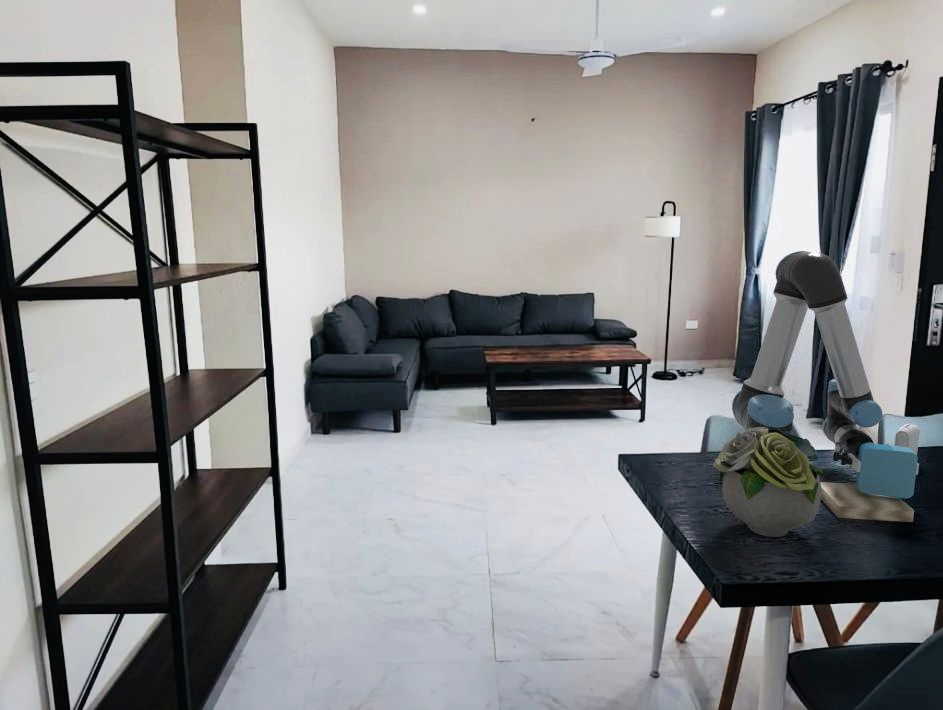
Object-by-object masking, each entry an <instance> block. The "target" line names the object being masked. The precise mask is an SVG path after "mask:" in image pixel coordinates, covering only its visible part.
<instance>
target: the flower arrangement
mask: <svg viewBox="0 0 943 710" xmlns="http://www.w3.org/2000/svg"><path fill="white" fill-rule="evenodd" d="M764 428H767V427H756V428H751V427H749V428H748V429H747V430H745V431H744V432H742V433H741V432H737V434H736V436H735V437H734V438H732V439H730V440H728V441H726V442H725V443H724V444H723V446H722V449H721V451H720V453H719V454H718V456H717V458H716V459H715V460H714V463H713V465H712V466H713V468H715V469H717V470H718V485H720V484H721V481H722V492H721V493H722V495H723V498H724V502H725V505H726V506H727V508H728V510H729V511H730V512H731V513H732V514H733V515H734V516H735V517H736V518H738V519H739V520H741V521H742V522H744V523H746V525H747V527H748V528H749V529H750V531H751V532H753V533H755V534H758V535H760V536H763V537H769V538H781V537H784V536H786V535H787V534H789V531H792V530H797V529H800V528H801V527H803V526H805V525H807V524H808V523H811V522H812V521H814V519H815V518H816V516H817V513H818V511H819V510H820V507H821V506H820V505H821V501H822V499H821V493H822V489H821V482H822V481H821V480H820V477H821V478H822V479H824V472H823V471H822V469H821V468H820V467H818V466H815V465H812V464H810V460H811V461H812V460H813V461H814V460H819V458H818V455H817V453H818V451H816V448H815V447H814V446H813V445H812V444H811V441H810V440H809V439H807V438H803V437H800V436H796V435H795V432H794V430H793V429H792V430H791V431H789V432H788V431H786V432H787V433H786V432H784V431H780V430H770V429H769V430H768V429H764ZM812 452H814V454H812V455H810V454H811V453H812ZM808 455H809V456H808ZM723 474H724V475H723ZM722 477H723V478H722Z"/></svg>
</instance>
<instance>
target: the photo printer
mask: <svg viewBox="0 0 943 710" xmlns="http://www.w3.org/2000/svg"><path fill="white" fill-rule="evenodd" d="M920 432H921V430H920V428H919V426H917V425H916V424H911V423H906V424H904V425H902V426H900V428H899V429H898V430H897V431H896V433H895V437H894V445H893V446H900V447H909V448H911V449H912V450H913V451H914V452H915V454H916V455H917V456H918V449H919V440H920Z"/></svg>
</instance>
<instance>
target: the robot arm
mask: <svg viewBox="0 0 943 710" xmlns="http://www.w3.org/2000/svg"><path fill="white" fill-rule="evenodd" d="M775 280H776V283H775V286H774V289H773V292H772V293H773V295H774V296H773V297H775V300H776V301H775V305H774V307H773V310H772V313H771V316H770V319H769V322H768V325H767V328H766V331H765V335H764V336H763V340H762V343H761V346H760V350H759V352H758V354H757V359H756V360H755V364H754V367H753V369H752V373H751V376H750V377H749V378H747V379H746V380H744V381H743V383H742V386H741V389H740V391H738V392H737V393H736V394H735V395H734V397H733V399H732V403H731V404H732V405H731V409H732V414H733V417H734V419H735V420H736V422H737V423H738V424H739V425H740V426H742V428H743V429H744V430H745V431H746V430H747V429H748V428H749V427H751V428H756V427H767V428H764V429H768V430H769V429H770V430H780V431H784V432H786V431H788V432H789V431H791V430H792V431H793V423H794V422H793V421H794V418H795V414H794V406H793V405H794V404H792V402H790V400H788V399H786V398H784V396H785V391H784V390H783V388H782V385H783V382H784V379H785V376H786V373H787V371H788V367H789V365H790V362H791V358H792V355H793V353H794V350H795V347H796V344H797V341H798V338H799V336H800V332H801V329H802V326H803V324H804V321H805V319H806V318H805V317H806V315H807V311H808V309H809V310H810V311H813V312H814V313H813V314H814V317H815V319H816V323H817V326H818V329H819V331H820V332H819V333H820V336H821V339H822V342H823V345H824V348H825V351H826V354H827V357H828V360H829V364H830V368H831V370H832V374H833V378H832V379H831V380H829V382H828V387H827V415H826V418H825V419H824V421H823V423H822V425H821V428H822V429H821V430H822V432H823V434H824V435H825V436H826V438H827V439H828V441H830V442H832V443H834V449H833V456H832V461H834V462H839V461H840V465H841V466H846V465H848V466H849V467H850V468H851V469H853V470H854V471H855V472H856V473H857V472H860V468H861V461H860V460H858V458H859V449H860V446H861V445H862V444H864V443H871V444H875V443H874V440H873V439H872V437H871V436H870V435H868V434H867V433H866V432H864V431H863V430H861V429H860V428H859V427H862V428H866V429H868V428H873V427H876V426H877V425H878V424H879V423H880V422H881V421H882V419H883V409H882V407H881V406H880V405H879V404H878V403H877V402H876V401H875V400H874V396H873V394H872V391H871V388H870V384H869V381H868V378H867V375H866V371H865V368H864V364H863V360H862V357H861V355H860V351H859V350H860V349H859V347H858V344H857V341H856V338H855V333H854V331H853V328H852V327H853V326H852V323H851V320H850V317H849V313H848V310H847V307H846V302H847V300H848V294H847V291H846V288H845V285H844V282H843V278H842V275H841V273H840V270H839V268H838V266H837V264H836V262H835V261H834V260H833V259H832V257H830V256H828V255H826V254H825V253H821V252H812V251H808V250H807V251H806V250H798V251H794V252H790V253H789V254H786V255H785V256H784V257H783V258H782V259H781V260H780V261H779V262H778V264H777V266H776V267H775ZM858 426H859V427H858ZM786 433H787V432H786ZM884 445H889V444H888V443H887V444H884ZM919 467H920V463H918V462H917V470H916V476H917V475H919V469H920V468H919Z"/></svg>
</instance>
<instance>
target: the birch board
mask: <svg viewBox="0 0 943 710" xmlns="http://www.w3.org/2000/svg"><path fill="white" fill-rule="evenodd" d="M820 482H821V489H822V493H821V501H822V502H823V503H824V504H825V505H826V506H827V507H828V509H829V510H830V511H831V512H832V513H833V515H835V517H837V519H852V520H853V519H855V520H872V521H888V522H903V523H904V522H906V523H907V522H908V523H909V522H910V523H913V522H914V515H915V514H914V513H915V510H914V509H913V508H912V507H911V506H910V505H909V504H907V503H906V502H905V501H903V500H902V498H898V497H890V496H882V495H874V494H867V493H862V492H861V491H860V490H859V489H858V486H857V483H850V482H849V483H845V482H826V481H824V482H823V481H820Z"/></svg>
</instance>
